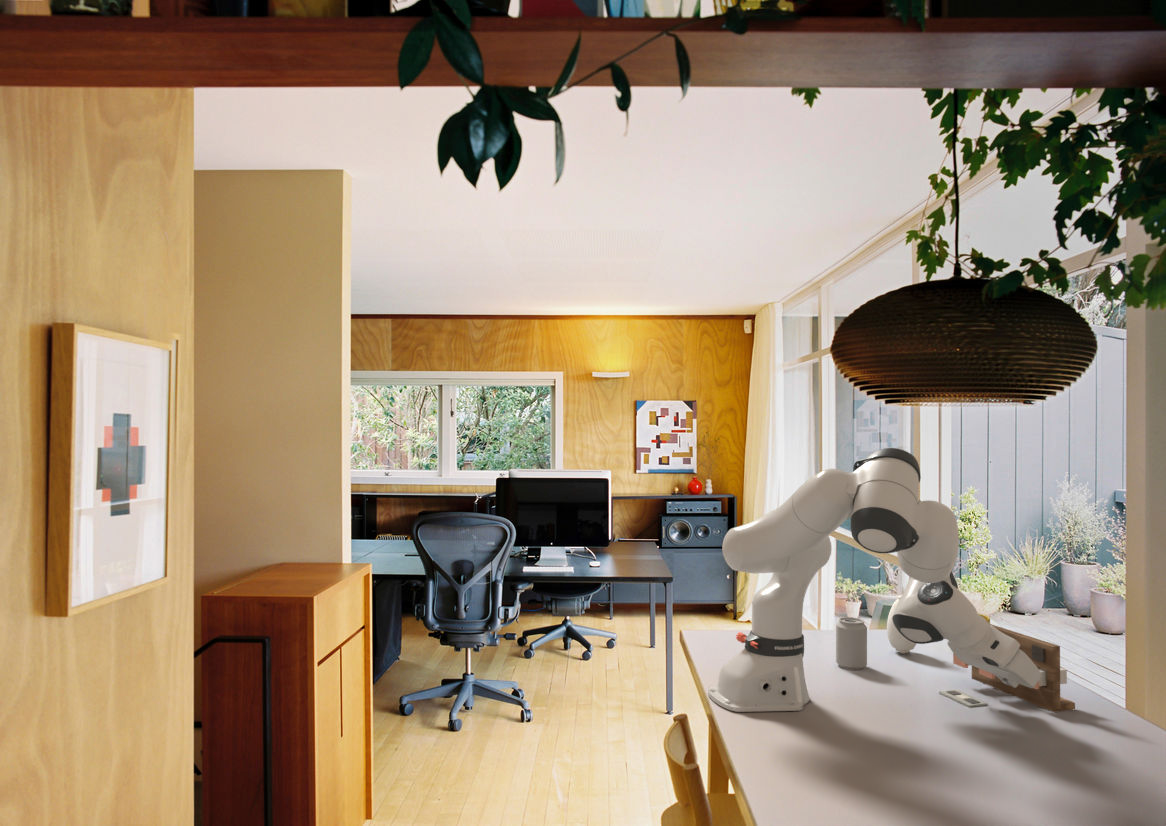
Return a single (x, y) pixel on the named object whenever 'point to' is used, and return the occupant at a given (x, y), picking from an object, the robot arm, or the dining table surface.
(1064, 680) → the button near
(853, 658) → the can
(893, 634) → the cream tall ovoid
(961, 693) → the card
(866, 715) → the dining table surface
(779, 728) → the dining table surface
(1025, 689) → the console
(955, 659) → the button far
